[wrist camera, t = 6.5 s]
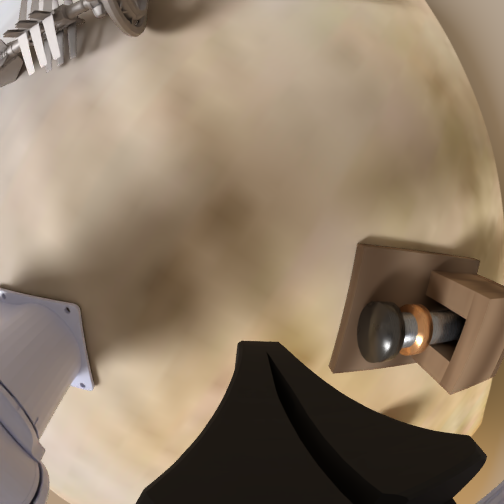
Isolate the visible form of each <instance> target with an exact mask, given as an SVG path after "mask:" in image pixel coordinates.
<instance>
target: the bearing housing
mask: <svg viewBox="0 0 504 504" xmlns="http://www.w3.org/2000/svg"><path fill="white" fill-rule="evenodd" d="M479 263H480V261H479V260H477V259H474V258H469V257H461V256H454V255H447V254H439V253H432V252H424V251H416V250H408V249H400V248H392V247H384V246H375V245H367V244H357V250H356V255H355V260H354V266H353V271H352V276H351V281H350V285H349V290H348V294H347V299H346V303H345V308H344V312H343V316H342V320H341V324H340V328H339V332H338V335H337V339H336V343H335V346H334V350H333V354H332V357H331V360H330V364H329V368H330V369H331V371H332V372H333V373H343V372H354V371H363V370H372V369H379V368H386V367H393V366H400V365H406V364H411V363H418V364H419V365H420V366H421V367H422V368H423V369H424V370H425V371H426V372H427V373H428V374H429V375H430V376H431V377H433V378H434V379H435V380H436V381H437V382H438V383H439V384H440V385H441V386H442V387H443V388H444V389H445V390H446V391H447V392H448V393H449V394H450V395H451V394H454V393H456V392H459V391H461V390H464V389H466V388H469V387H471V386H474V385H476V384H478V383H481V382H483V381H485V380H487V379H490V378H492V377H494V376H495V374H496V372H497V370H498V368H499V366H500V364H501V362H502V360H503V357H504V286H503V285H501V284H498V283H496V282H494V281H492V280H489V279H487V278H485V277H482V276H480V275H478V274H477V271H478V267H479ZM372 301H390V302H393V303H395V304H396V305H397V306H398V307H399V308H400V307H401V306H403V305H405V304H421V305H423V306H425V307H426V308H427V309H428V311H440V310H452V311H454V312H455V313H457V314H459V315H460V316H462V317H463V318H465V319H466V322H465V325H464V328H463V330H462V333H461V336H460V338H459V339H458V340H453V341H448V342H442V343H436V344H430V345H429V346H428V347H427V348H426V349H425V351H423V352H422V353H419V354H414V355H407V356H405V355H402V354H400V353H399V354H398V355H397V356H396V357H395V358H394V359H393V360H391V361H386V362H378V363H369V362H367V361H366V360H365V359H364V358H363V357H362V355H361V353H360V350H359V347H358V342H357V326H358V321H359V317H360V314H361V312H362V310H363V308H364V307H365V306H366V305H367V304H368V303H369V302H372Z"/></svg>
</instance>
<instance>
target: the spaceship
mask: <svg viewBox="0 0 504 504" xmlns="http://www.w3.org/2000/svg"><path fill="white" fill-rule="evenodd" d="M63 1H64V4H62V5H60V6H59V4H58V0H41V1H40V2H39V0H32V5H31V13H30V14H29V15H30V16H29V17H28V18H30V20H26V12H27V0H22V2H21V8H20V15H19V22H18V23H16V24H15V25H17V26H16V27H15V28H18V30H8V31H6V32H5V33H4V34H3V35H5V36H4V37H15V41H12V42H10V43H9V44H8V43H7V45H6V44H5V43H4V42H3V41H2V40H0V87H2V86H4V85H6V84H9V83H11V82H14V81H15V80H16V78H17V75H18V73H19V71H20V68H21V66H22V64H23V60H22V59H21V57H20V56H19V55H18V54H19V53H20V52H22V55H23V58H24V62H25V65H26V68H27V71H28V74H29V75H31V74H33V73H34V72H35V69H34V65H33V61H32V57H31V53H30V48H29V46H34V48H35V51H36V54H37V57H38V60H39V63H40V66H41V68H42V67H43V66H45V67H46V73H47V72H49V71H50V70H52V56H53V59H54V60H55V59H57V65H58V66H59V65H61V64H63V63H64V45H63V39H64V31H68V44H69V54H70V59H72V58H74V57H76V56H77V48H76V25H81V24H83V23H85V22H84V21H85V20H84V19H81V18H78V16H77V15H78V14H80V13H82V12H86V11H88V10H89V9H91V10H92V11H93V13H94V15H95V16H96V17H97V18H101V17H104V16H105V15H106V14H107V13H108V15H109V16H110V18H111V19H112V20H113V22H114V23H115V24H116V25H117V26H118V27H119V29H120V30H121V31H122V32H123V33H125V34H126V35H128V36H133V37H137V36H139V35H140V34H141V33H143V31H144V30H145V27H146V22H147V11H148V0H80V1H78V2H76V3H74V4H73V2H72V0H63ZM137 21H138V22H137ZM136 23H137V24H136ZM17 38H18V39H17ZM16 39H17V40H16ZM43 39H44V47H43V43H42V40H43Z"/></svg>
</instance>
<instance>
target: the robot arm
mask: <svg viewBox="0 0 504 504" xmlns="http://www.w3.org/2000/svg"><path fill="white" fill-rule="evenodd" d="M67 308H69V310H70V312H69V311H68V310H67ZM70 386H73V387H77V388H81V389H85V390H89V391H92V390H93V389H94V382H93V378H92V374H91V369H90V365H89V360H88V355H87V350H86V344H85V339H84V333H83V326H82V319H81V312H80V308H79V307H78V306H77V305H76V304H74V303H68V302H63V301H57V300H52V299H47V298H42V297H37V296H32V295H28V294H23V293H19V292H15V291H10V290H6V289H2V288H0V504H46V503H47V500H48V495H49V475H48V471H47V469H46V467H45V466H44V464H43V463H42V462H41V459H42V457H43V455H44V453H45V449H44V448H43V446H42V445H41V444H40V443H39V439H40V438H41V436H42V434H43V432H44V430H45V428H46V426H47V425H48V423H49V421H50V419H51V417H52V416H53V414H54V412H55V410H56V409H57V407H58V405H59V404H60V402H61V400H62V398H63V397H64V395H65V393H66V392H67V390H68V388H69V387H70ZM486 458H487V456H486V454H485V453H484V452H483V451H482V449H481V448H480V447H479V446H478V445H477V444H476V442H474V440H473V439H472V438H471V437H470V436H469V435H460V434H452V433H445V432H439V431H433V430H429V429H425V428H421V427H417V426H413V425H410V424H407V423H404V422H401V421H398V420H395V419H392V418H390V417H388V416H385V415H383V414H380V413H378V412H376V411H373V410H371V409H369V408H367V407H365V406H363V405H362V404H360V403H358V402H356V401H354V400H353V399H351V398H349V397H347V396H346V395H344V394H342V393H341V392H339V391H338V390H336V389H335V388H334V387H332V386H331V385H329V384H328V383H326V382H325V381H324V380H322V379H321V378H320V377H318V376H317V375H316V374H315V373H313V372H312V371H311V370H310V369H309V368H307V367H306V366H305V365H304V364H303V363H302V362H300V361H299V360H298V359H297V358H296V357H295V356H294V355H293V354H292V353H290V352H289V351H288V350H287V349H286V348H285V347H284V346H283V345H281V344H280V343H279V342H261V341H241V342H239V343H238V345H237V354H236V363H235V371H234V374H233V377H232V379H231V382H230V384H229V386H228V389H227V391H226V393H225V395H224V397H223V399H222V401H221V403H220V405H219V406H218V408H217V410H216V411H215V413H214V415H213V416H212V418H211V419H210V421H209V422H208V424H207V425H206V427H205V428H204V429H203V431H202V432H201V433H200V435H199V436H198V437H197V439H196V440H195V441H194V442H193V443H192V444H191V445H190V447H189V448H188V449H187V450H186V451H185V452H184V453H183V454H182V455H181V457H180V458H179V459H178V460H177V461H176V462H175V463H174V464H173V465H172V466H171V467H170V468H168V469H167V470H166V471H165V472H164V473H163V474H162V475H160V476H159V477H158V478H157V479H156V480H154V481H153V482H152V483H151V484H150V485H148V486H147V487H146V488H145V489H144V490H143V492H142V493H141V495H140V497H139V499H138V500H137V502H136V504H456V502H455V501H454V500H453V497H454V496H455V495H456V494H457V493H458V492H459V491H460V490H461V489H462V488H463V487H464V486H465V485H466V484H467V483H468V482H469V481H470V480H471V479H472V478H473V477H474V476H475V475H476V474H477V473H478V472H479V471H480V469H481V468H482V466H483V465H484V463H485V461H486ZM476 504H504V480H503V481H502V482H501V483H500V484H499V485H498V486H497V487H496V488H494V489H493V490H492V491H491V492H490V493H489V494H487V495H486V496H485V497H484V498H482V499H481V500H480V501H479V502H478V503H476Z"/></svg>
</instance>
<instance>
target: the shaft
mask: <svg viewBox="0 0 504 504" xmlns="http://www.w3.org/2000/svg"><path fill="white" fill-rule="evenodd" d="M465 322H466V319H465V318H463V317H462V316H460V315H459V314H457V313H455V312H454V311H452V310H440V311H428V309H427V308H426V307H425V306H423V305H421V304H405V305H403V306H401V307H400V308H399V307H398V306H397V305H396V304H395V303H393V302H390V301H372V302H369V303H368V304H367V305H366V306H365V307H364V308H363V310H362V312H361V314H360V317H359V321H358V326H357V342H358V347H359V350H360V353H361V355H362V357H363V358H364V359H365V360H366V361H367V362H369V363H378V362H386V361H391V360H393V359H394V358H395V357H396V356H397V355H398V354H399V353H400V354H402V355H405V356H407V355H414V354H419V353H422V352H423V351H425V349H426V348H427V347H428V346H429V345H430V344H436V343H442V342H448V341H453V340H458V339H459V338H460V336H461V333H462V330H463V328H464V325H465Z"/></svg>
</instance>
